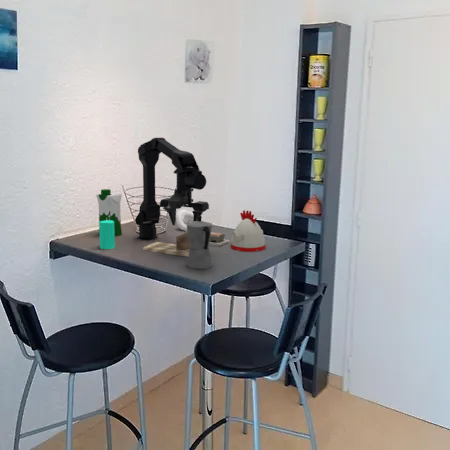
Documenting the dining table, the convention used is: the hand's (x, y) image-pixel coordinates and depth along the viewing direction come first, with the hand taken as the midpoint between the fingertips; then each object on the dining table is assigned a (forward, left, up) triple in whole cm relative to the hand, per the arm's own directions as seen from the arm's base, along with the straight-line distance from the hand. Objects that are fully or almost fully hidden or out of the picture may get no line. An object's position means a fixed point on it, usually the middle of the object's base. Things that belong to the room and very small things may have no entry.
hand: (184, 226), depth 214 cm
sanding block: (+1, -2, -9) cm, 9 cm away
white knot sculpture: (-18, +35, -10) cm, 40 cm away
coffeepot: (+15, -15, -10) cm, 24 cm away
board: (-5, -1, -10) cm, 11 cm away
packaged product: (0, +17, -11) cm, 20 cm away
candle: (-30, -9, -10) cm, 33 cm away
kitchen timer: (+19, +18, -10) cm, 28 cm away
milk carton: (-42, +9, -10) cm, 44 cm away
